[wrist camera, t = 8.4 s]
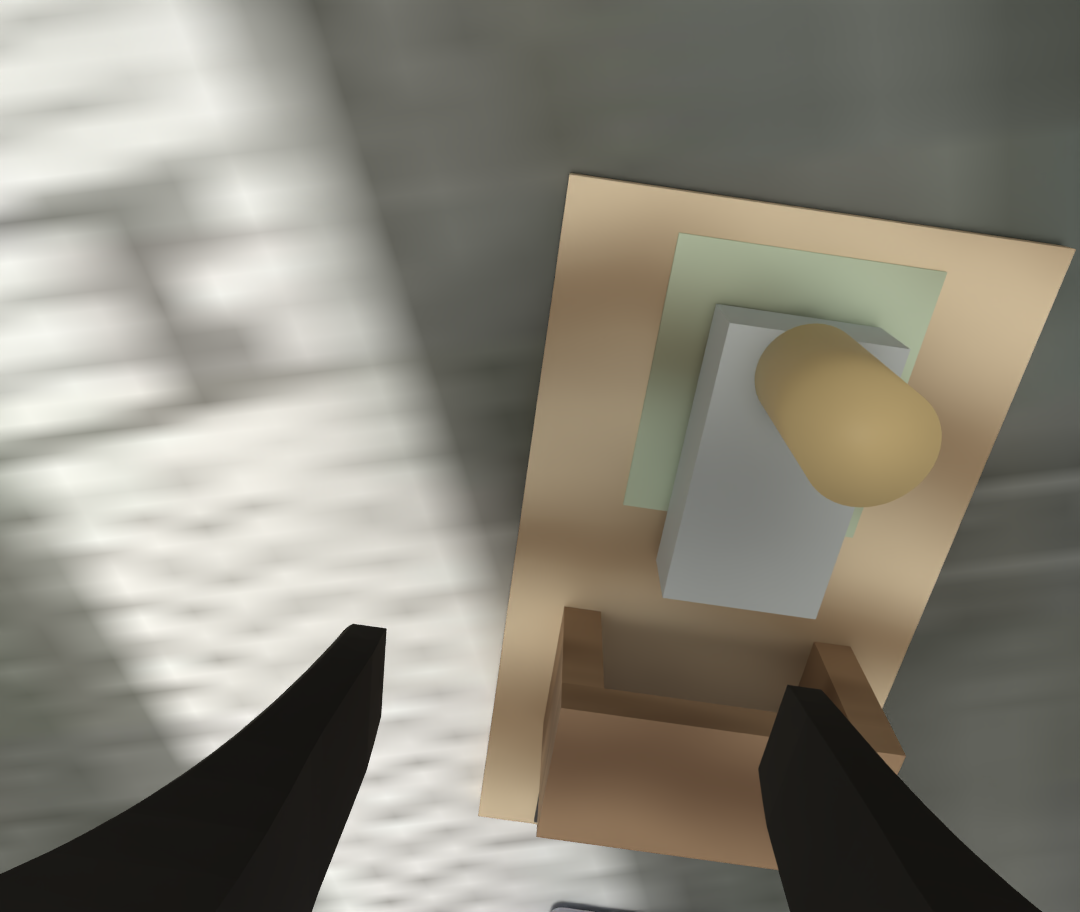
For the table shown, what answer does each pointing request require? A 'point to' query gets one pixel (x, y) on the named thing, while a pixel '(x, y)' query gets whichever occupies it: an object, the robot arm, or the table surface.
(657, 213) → the board
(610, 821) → the tunnel
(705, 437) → the tan-topped grey block
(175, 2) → the table surface
